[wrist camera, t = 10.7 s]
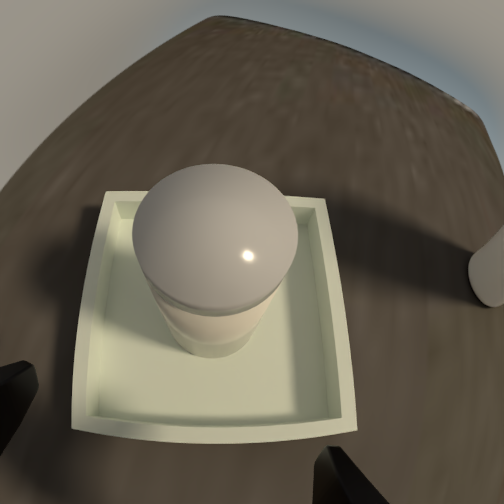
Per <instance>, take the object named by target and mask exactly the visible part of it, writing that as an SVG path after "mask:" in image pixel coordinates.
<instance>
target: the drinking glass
mask: <svg viewBox="0 0 504 504" xmlns="http://www.w3.org/2000/svg"><path fill="white" fill-rule="evenodd" d="M468 275H469V280H470V284H471V286H472V289H473V291H474V293H475V294H476V296H477V297H478V298H479V300H480V301H481V302H483V303H484V304H485V305H487V306H489V307H498V306H501V305H503V304H504V225H503V226H502V227H501V228H500V229H499V230H498V231H497V233H496V234H495V235H494V236H493V237H492V238H491V239H490V240H489V241H488V242H487V243H486V244H485V245H484V246H482V247H481V248H480V249H479V250H478V251H476V252H475V253H474V254H473V255H472V257H471V259H470V261H469V265H468Z"/></svg>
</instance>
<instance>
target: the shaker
mask: <svg viewBox="0 0 504 504" xmlns="http://www.w3.org/2000/svg"><path fill="white" fill-rule="evenodd" d="M132 241H133V247H134V251H135V255H136V257H137V259H138V262H139V264H140V267H141V269H142V271H143V274H144V276H145V278H146V281H147V283H148V285H149V287H150V290H151V292H152V294H153V296H154V298H155V300H156V303H157V305H158V307H159V309H160V311H161V313H162V315H163V317H164V320H165V322H166V324H167V326H168V328H169V330H170V332H171V334H172V336H173V337H174V339H175V340H176V342H177V343H178V344H179V345H180V346H181V347H182V348H183V349H185V350H186V351H188V352H189V353H191V354H193V355H196V356H199V357H203V358H212V359H213V358H222V357H226V356H229V355H231V354H233V353H235V352H237V351H238V350H240V349H241V348H242V347H243V346H244V345H245V344H246V343H247V342H248V341H249V339H250V338H251V336H252V334H253V332H254V331H255V329H256V327H257V325H258V324H259V322H260V320H261V318H262V316H263V315H264V313H265V311H266V309H267V308H268V306H269V304H270V302H271V300H272V299H273V297H274V295H275V293H276V291H277V289H278V288H279V286H280V284H281V282H282V280H283V279H284V277H285V275H286V273H287V271H288V269H289V267H290V266H291V264H292V261H293V259H294V256H295V254H296V249H297V245H298V227H297V223H296V218H295V215H294V213H293V210H292V208H291V206H290V205H289V203H288V201H287V200H286V198H285V197H284V196H283V194H282V193H281V192H280V191H279V190H278V189H277V188H276V187H275V186H274V185H272V184H271V183H270V182H269V181H267V180H266V179H264V178H263V177H261V176H259V175H257V174H255V173H253V172H251V171H248V170H246V169H243V168H239V167H236V166H230V165H224V164H204V165H197V166H192V167H188V168H185V169H182V170H179V171H177V172H175V173H173V174H171V175H169V176H167V177H166V178H164V179H162V180H161V181H160V182H158V183H157V184H156V185H155V186H154V187H153V188H152V189H151V190H150V191H149V192H148V193H147V194H146V196H145V197H144V198H143V200H142V201H141V203H140V205H139V207H138V209H137V211H136V214H135V217H134V221H133V227H132Z"/></svg>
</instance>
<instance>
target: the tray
mask: <svg viewBox="0 0 504 504" xmlns="http://www.w3.org/2000/svg"><path fill="white" fill-rule="evenodd" d="M148 192H149V191H107V192H106V194H105V197H104V201H103V204H102V208H101V211H100V215H99V219H98V223H97V227H96V231H95V235H94V239H93V244H92V248H91V253H90V257H89V262H88V267H87V272H86V277H85V283H84V288H83V294H82V300H81V307H80V314H79V321H78V329H77V337H76V346H75V357H74V369H73V385H72V429H76V430H81V431H87V432H92V433H98V434H103V435H110V436H117V437H124V438H132V439H140V440H150V441H162V442H177V443H206V444H229V443H257V442H273V441H285V440H295V439H304V438H312V437H319V436H326V435H333V434H339V433H344V432H350V431H355V430H357V419H356V406H355V394H354V383H353V373H352V363H351V354H350V346H349V338H348V330H347V322H346V315H345V308H344V301H343V295H342V289H341V282H340V276H339V270H338V264H337V259H336V253H335V248H334V242H333V237H332V232H331V227H330V222H329V217H328V212H327V207H326V203H325V199H320V198H307V197H293V196H284V197H285V198H286V200H287V201H288V203H289V205H290V206H291V208H292V210H293V213H294V215H295V218H296V223H297V227H298V245H297V249H296V254H295V256H294V259H293V261H292V264H291V266H290V267H289V269H288V271H287V273H286V275H285V277H284V279H283V280H282V282H281V284H280V286H279V288H278V289H277V291H276V293H275V295H274V297H273V299H272V300H271V302H270V304H269V306H268V308H267V309H266V311H265V313H264V315H263V316H262V318H261V320H260V322H259V324H258V325H257V327H256V329H255V331H254V332H253V334H252V336H251V338H250V339H249V341H248V342H247V343H246V344H245V345H244V346H243V347H242V348H241V349H240V350H238V351H237V352H235V353H233V354H231V355H229V356H226V357H222V358H213V359H212V358H203V357H199V356H196V355H193V354H191V353H189V352H188V351H186V350H185V349H183V348H182V347H181V346H180V345H179V344H178V343H177V342H176V340H175V339H174V337H173V336H172V334H171V332H170V330H169V328H168V326H167V324H166V322H165V320H164V317H163V315H162V313H161V311H160V309H159V307H158V305H157V303H156V300H155V298H154V296H153V294H152V292H151V290H150V287H149V285H148V283H147V281H146V278H145V276H144V274H143V271H142V269H141V267H140V264H139V262H138V259H137V257H136V255H135V251H134V247H133V241H132V227H133V221H134V217H135V214H136V211H137V209H138V207H139V205H140V203H141V201H142V200H143V198H144V197H145V196H146V194H147V193H148Z"/></svg>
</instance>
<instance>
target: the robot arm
mask: <svg viewBox="0 0 504 504" xmlns="http://www.w3.org/2000/svg"><path fill="white" fill-rule="evenodd" d="M38 387H39V383H38V379H37V374H36V369H35V367H34V365H33V364H31V363H29V362H27V361H24V360H23V361H19V362H16V363H12V364H9V365H6V366H2V367H0V456H1V454H2V453H3V451H4V449H5V448H6V446H7V445H8V443H9V441H10V440H11V438H12V437H13V435H14V433H15V432H16V430H17V429H18V427H19V425H20V424H21V422H22V420H23V418H24V416H25V414H26V412H27V410H28V408H29V406H30V404H31V402H32V400H33V398H34V397H35V395H36V393H37V391H38ZM312 504H389V503H388V502H387V500H386V499H385V498H384V497H383V496H382V495H381V494H380V493H379V491H378V490H377V489H376V488H375V487H374V486H373V485H372V483H371V482H370V481H369V480H368V479H367V478H366V477H365V475H364V474H363V473H362V472H361V471H360V470H359V468H358V467H357V466H356V465H355V464H354V463H353V461H352V460H351V459H350V458H349V457H348V455H347V454H346V453H345V452H344V451H343V450H342V448H341V447H339V446H333V445H327V446H325V447H324V448H323V450H322V452H321V453H320V455H319V456H318V458H317V459H316V461H315V464H314V481H313V501H312Z"/></svg>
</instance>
